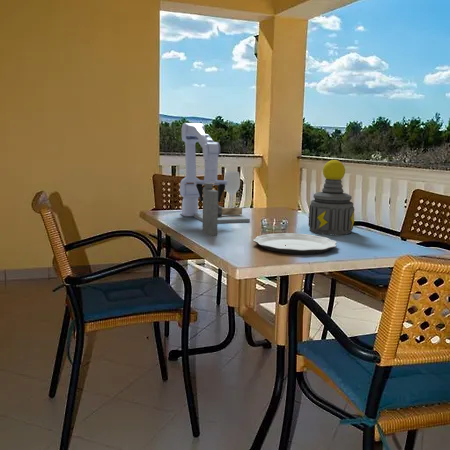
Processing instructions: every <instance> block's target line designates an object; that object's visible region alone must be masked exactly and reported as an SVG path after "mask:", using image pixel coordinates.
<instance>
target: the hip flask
mask: <svg viewBox="0 0 450 450" xmlns="http://www.w3.org/2000/svg"><path fill="white" fill-rule="evenodd" d="M213 184H214V183H204V185H203V202H202V213H203V222H202V225H201V227H202V232H203V233H204V234H205V235H207V236H210V237H218V223H217V219H218V205H219V202H218V190H216V189H213V187H214V185H213Z"/></svg>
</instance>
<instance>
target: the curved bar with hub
mask: <svg viewBox="0 0 450 450" xmlns="http://www.w3.org/2000/svg"><path fill="white" fill-rule="evenodd" d="M222 215H242V216H243V207H240V206H239V207H232V208H230V207H222V206H220V204H218V216H222Z"/></svg>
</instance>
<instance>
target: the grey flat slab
mask: <svg viewBox="0 0 450 450" xmlns="http://www.w3.org/2000/svg"><path fill="white" fill-rule="evenodd" d="M193 217H194V218H196V219H197V220H198V221H200V222H202V223H203V212H202V213H199V212H198V213H197V214H194V216H193ZM250 221H251V220H250V218H249V217H246V216H244V215H243V214H242V215H222V216H218V219H217V224H229V223H230V224H232V223H233V224H234V223H251V222H250Z"/></svg>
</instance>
